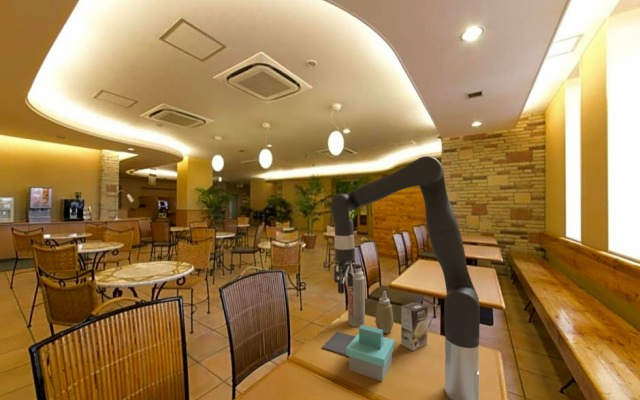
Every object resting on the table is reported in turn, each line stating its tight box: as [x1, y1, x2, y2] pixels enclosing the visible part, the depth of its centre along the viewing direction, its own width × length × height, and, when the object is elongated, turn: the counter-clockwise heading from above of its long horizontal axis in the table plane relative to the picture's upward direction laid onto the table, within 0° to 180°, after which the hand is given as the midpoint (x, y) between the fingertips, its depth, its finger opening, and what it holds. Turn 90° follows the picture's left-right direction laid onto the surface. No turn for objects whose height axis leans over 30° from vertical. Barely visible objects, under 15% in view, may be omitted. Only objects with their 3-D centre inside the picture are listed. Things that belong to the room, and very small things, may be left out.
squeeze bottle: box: [374, 290, 395, 335], centre depth 122 cm, size 8×8×18 cm
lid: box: [346, 324, 396, 367], centre depth 97 cm, size 14×14×8 cm
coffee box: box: [400, 301, 429, 352], centre depth 111 cm, size 9×6×16 cm
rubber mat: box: [321, 331, 357, 358], centre depth 111 cm, size 14×14×1 cm
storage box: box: [348, 352, 393, 382], centre depth 97 cm, size 12×12×7 cm
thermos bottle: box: [347, 263, 366, 328], centre depth 130 cm, size 8×8×28 cm
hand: (346, 289), depth 102 cm, fingers open, 8 cm apart
